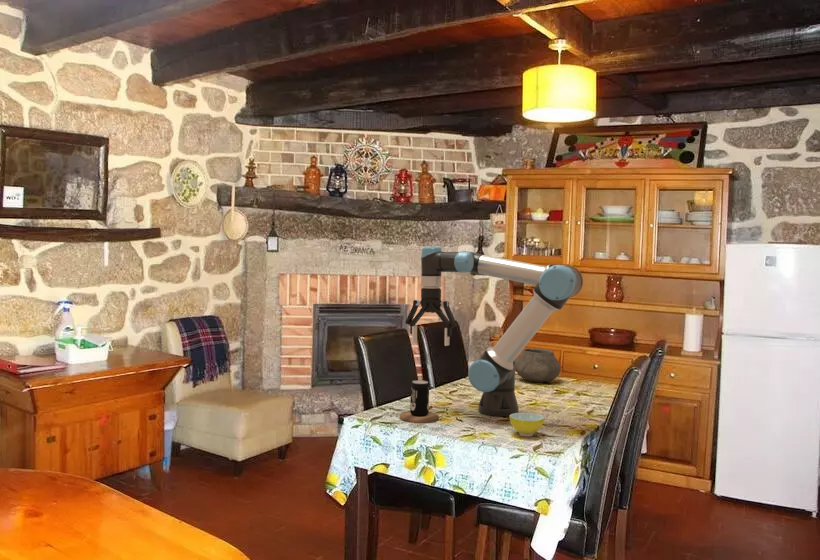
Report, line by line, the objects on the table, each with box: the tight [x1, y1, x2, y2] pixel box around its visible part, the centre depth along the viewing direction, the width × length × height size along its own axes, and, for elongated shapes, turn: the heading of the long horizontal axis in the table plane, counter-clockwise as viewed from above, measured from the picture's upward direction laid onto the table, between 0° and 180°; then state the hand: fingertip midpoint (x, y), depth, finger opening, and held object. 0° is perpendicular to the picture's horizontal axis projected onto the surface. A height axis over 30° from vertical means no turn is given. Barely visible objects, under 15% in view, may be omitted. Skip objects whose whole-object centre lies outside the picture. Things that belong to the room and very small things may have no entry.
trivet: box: [399, 410, 440, 424], centre depth 253 cm, size 14×14×1 cm
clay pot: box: [515, 347, 562, 383], centre depth 335 cm, size 22×21×15 cm
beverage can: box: [409, 379, 430, 417], centre depth 252 cm, size 7×7×12 cm
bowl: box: [509, 412, 545, 437], centre depth 234 cm, size 11×12×6 cm
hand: (430, 344), depth 264 cm, fingers open, 13 cm apart
